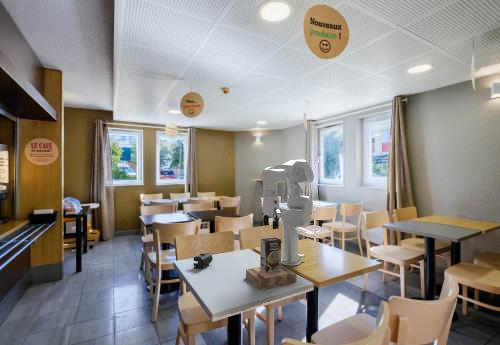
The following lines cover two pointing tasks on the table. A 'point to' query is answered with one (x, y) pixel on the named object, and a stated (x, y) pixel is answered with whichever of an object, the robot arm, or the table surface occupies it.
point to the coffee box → (270, 255)
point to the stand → (270, 277)
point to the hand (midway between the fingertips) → (270, 226)
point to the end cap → (202, 260)
